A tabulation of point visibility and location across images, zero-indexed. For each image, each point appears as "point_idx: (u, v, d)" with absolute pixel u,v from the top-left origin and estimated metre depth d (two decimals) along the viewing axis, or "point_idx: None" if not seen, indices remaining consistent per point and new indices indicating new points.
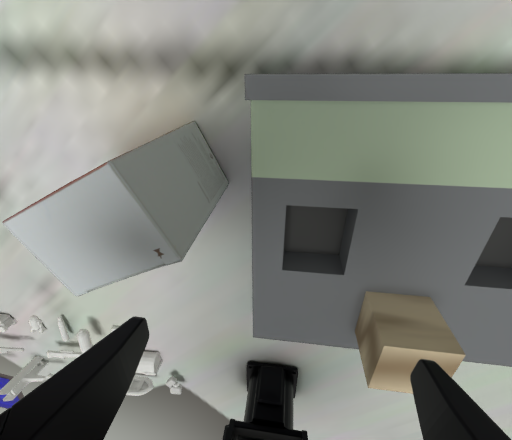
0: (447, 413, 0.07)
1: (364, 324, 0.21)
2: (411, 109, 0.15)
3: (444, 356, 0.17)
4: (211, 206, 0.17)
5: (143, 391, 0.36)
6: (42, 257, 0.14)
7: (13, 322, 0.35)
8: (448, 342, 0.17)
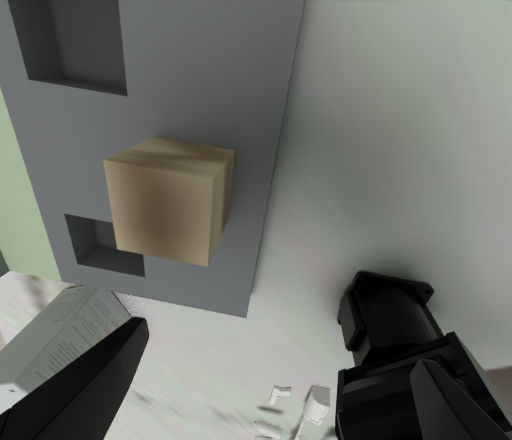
0: (447, 413, 0.07)
1: None
2: None
3: (114, 184, 0.12)
4: (67, 319, 0.23)
5: None
6: None
7: None
8: None
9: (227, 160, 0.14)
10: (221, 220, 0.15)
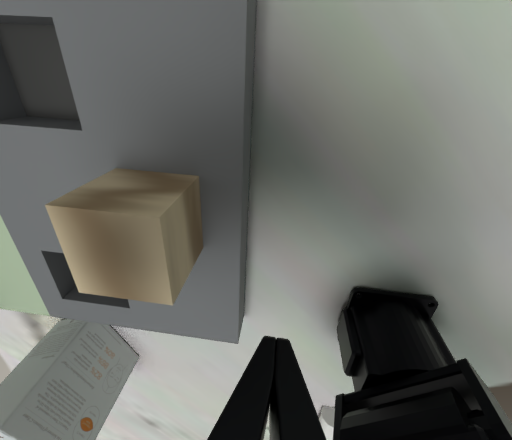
0: (273, 384, 0.07)
1: None
2: None
3: (61, 229, 0.11)
4: (57, 355, 0.22)
5: None
6: None
7: None
8: None
9: (186, 189, 0.13)
10: (189, 251, 0.15)
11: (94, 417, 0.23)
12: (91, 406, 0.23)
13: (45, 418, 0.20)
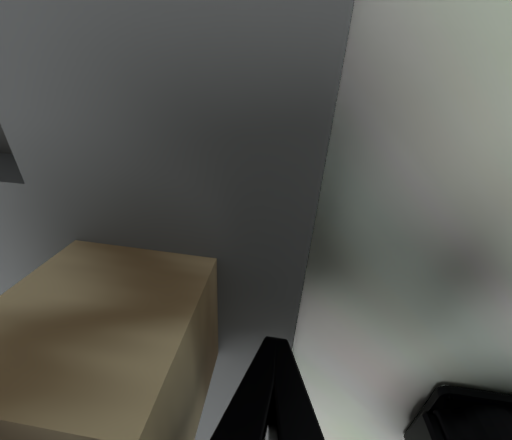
0: None
1: None
2: None
3: None
4: None
5: None
6: None
7: None
8: None
9: (196, 304, 0.07)
10: (200, 391, 0.08)
11: None
12: None
13: None
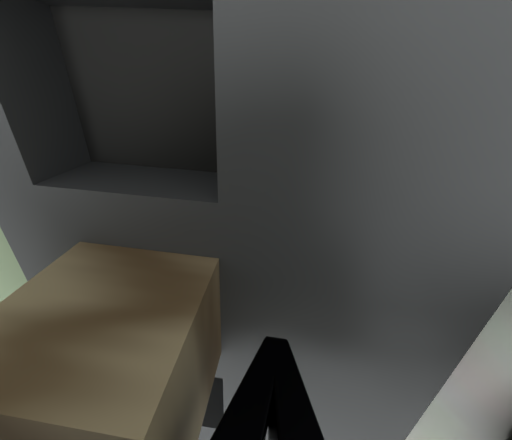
0: None
1: None
2: None
3: None
4: None
5: None
6: None
7: None
8: None
9: (200, 303, 0.07)
10: (203, 390, 0.08)
11: None
12: None
13: None
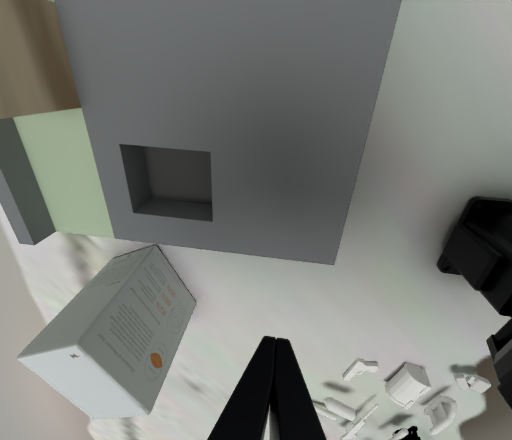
0: (273, 385, 0.07)
1: None
2: None
3: None
4: (124, 280, 0.20)
5: (450, 413, 0.26)
6: (112, 415, 0.19)
7: None
8: None
9: None
10: (42, 83, 0.13)
11: (162, 354, 0.21)
12: (158, 342, 0.21)
13: (119, 344, 0.17)
